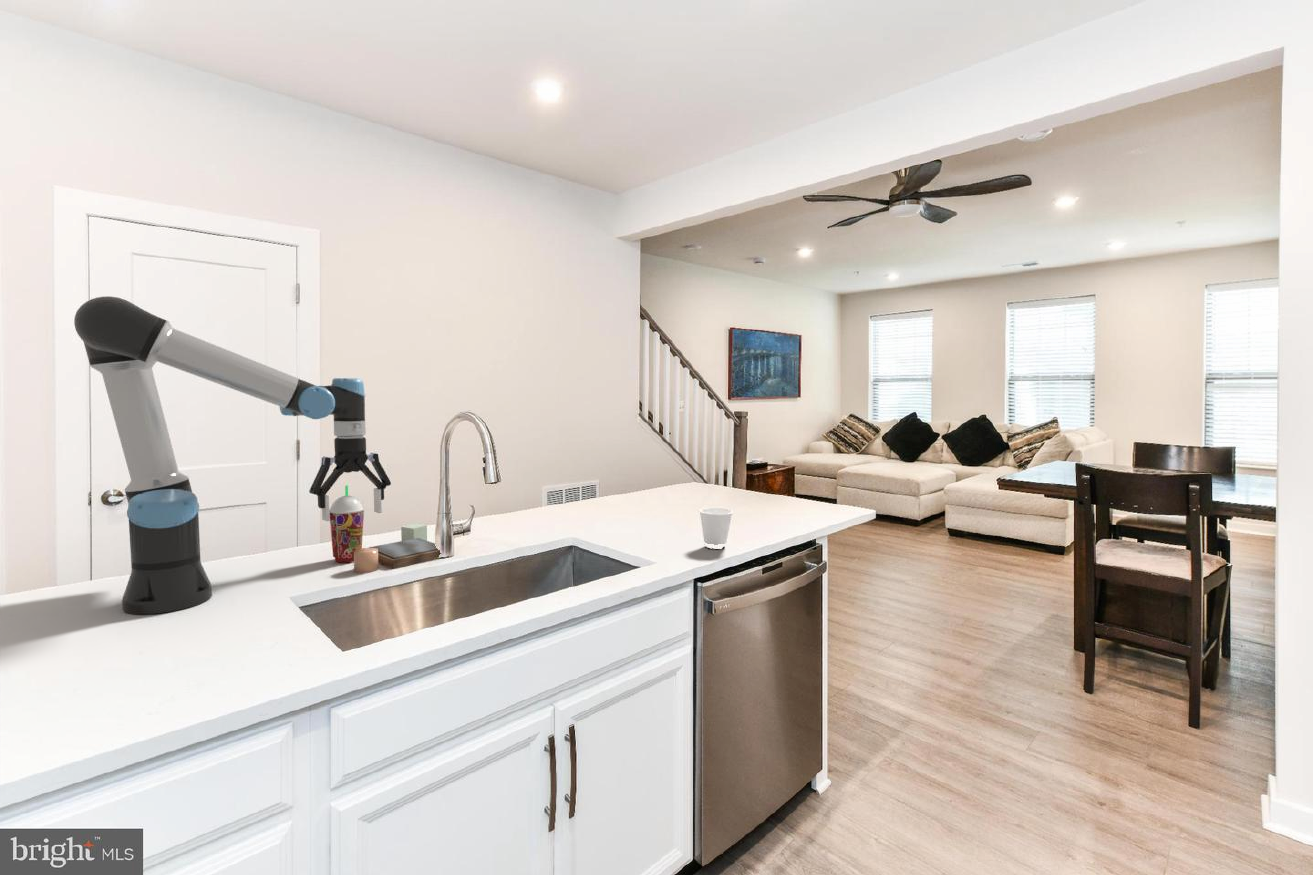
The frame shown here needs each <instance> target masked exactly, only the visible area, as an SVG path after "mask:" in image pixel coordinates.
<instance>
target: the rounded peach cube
mask: <svg viewBox="0 0 1313 875" xmlns="http://www.w3.org/2000/svg"><path fill="white" fill-rule="evenodd" d="M377 571H379V563H378V549H376V548H369V547H364V548H363V547H362V549H358V550H355V551H354V562H353V572H354V573H355V574H356V573H357V574H370V573H373V572H374V573H375V572H377Z"/></svg>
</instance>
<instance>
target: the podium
mask: <svg viewBox="0 0 1313 875" xmlns="http://www.w3.org/2000/svg"><path fill="white" fill-rule="evenodd" d="M435 544H436V543H434V542H431V541H429V540H427V541H426V540H423V539H420V538H416V539H410V540H405V541H402V540H400V541H395V542H390V543H385V544H379V545H375V546H369V547H368V548H376V549H378V564H381V565H383V566H386V567H388V568H391V569H393V570H395V569H398V568H403V567H407V566H412V565H416V564H421V563H426V561H427V562H431V561H436V560H438V559H437V558H438V557H439V555H440V554H441V553H440V550H438V549H437V548H436V546H435ZM435 559H436V560H435Z"/></svg>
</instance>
